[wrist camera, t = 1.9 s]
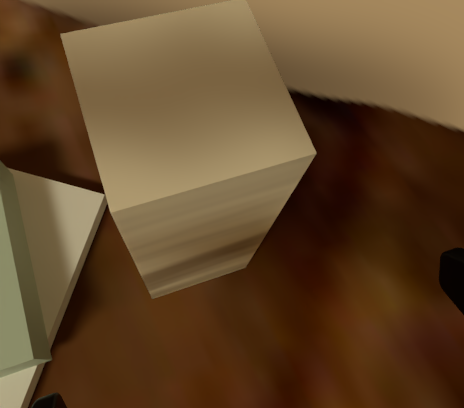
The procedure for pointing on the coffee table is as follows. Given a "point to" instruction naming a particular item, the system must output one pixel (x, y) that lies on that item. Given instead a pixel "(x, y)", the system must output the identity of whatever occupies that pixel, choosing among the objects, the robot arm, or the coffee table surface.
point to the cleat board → (38, 271)
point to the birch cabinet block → (189, 137)
